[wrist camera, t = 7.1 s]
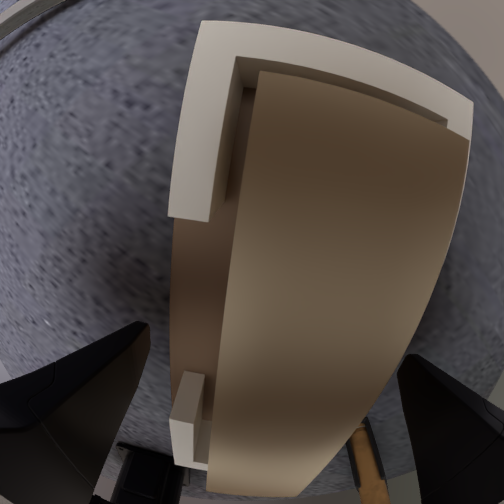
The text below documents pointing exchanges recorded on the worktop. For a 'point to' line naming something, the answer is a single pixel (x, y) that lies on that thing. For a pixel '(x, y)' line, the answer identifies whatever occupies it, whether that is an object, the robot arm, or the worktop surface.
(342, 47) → the end caps
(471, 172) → the worktop surface
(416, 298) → the maple slat
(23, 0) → the caliper
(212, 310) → the walnut board
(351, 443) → the ammunition clip
